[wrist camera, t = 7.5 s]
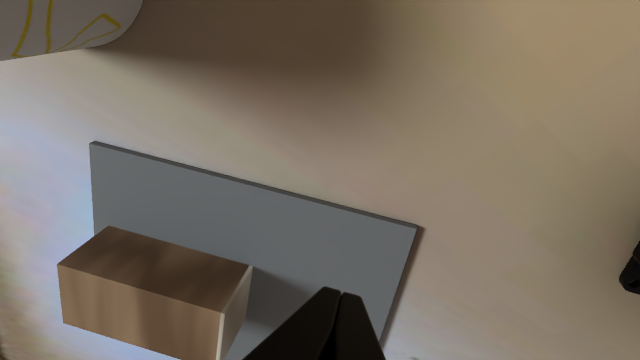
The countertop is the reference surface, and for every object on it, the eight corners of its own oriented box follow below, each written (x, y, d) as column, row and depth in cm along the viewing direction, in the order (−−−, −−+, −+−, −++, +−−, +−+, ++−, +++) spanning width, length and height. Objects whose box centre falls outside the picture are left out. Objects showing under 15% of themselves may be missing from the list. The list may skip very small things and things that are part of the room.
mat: (416, 225, 21) (416, 229, 21) (356, 406, 27) (355, 411, 27) (94, 141, 23) (89, 143, 23) (103, 328, 29) (99, 332, 29)
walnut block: (224, 313, 20) (56, 264, 21) (218, 371, 22) (63, 322, 23) (252, 266, 24) (108, 225, 25) (245, 318, 25) (110, 278, 26)
